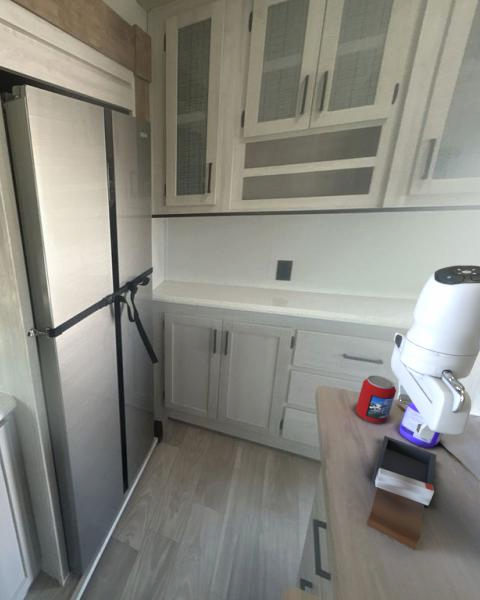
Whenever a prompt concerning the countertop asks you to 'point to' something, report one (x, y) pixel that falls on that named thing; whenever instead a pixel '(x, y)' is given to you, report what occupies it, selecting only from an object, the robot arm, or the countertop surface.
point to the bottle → (410, 426)
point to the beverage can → (376, 399)
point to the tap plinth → (396, 517)
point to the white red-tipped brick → (404, 486)
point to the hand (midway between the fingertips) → (413, 417)
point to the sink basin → (406, 461)
